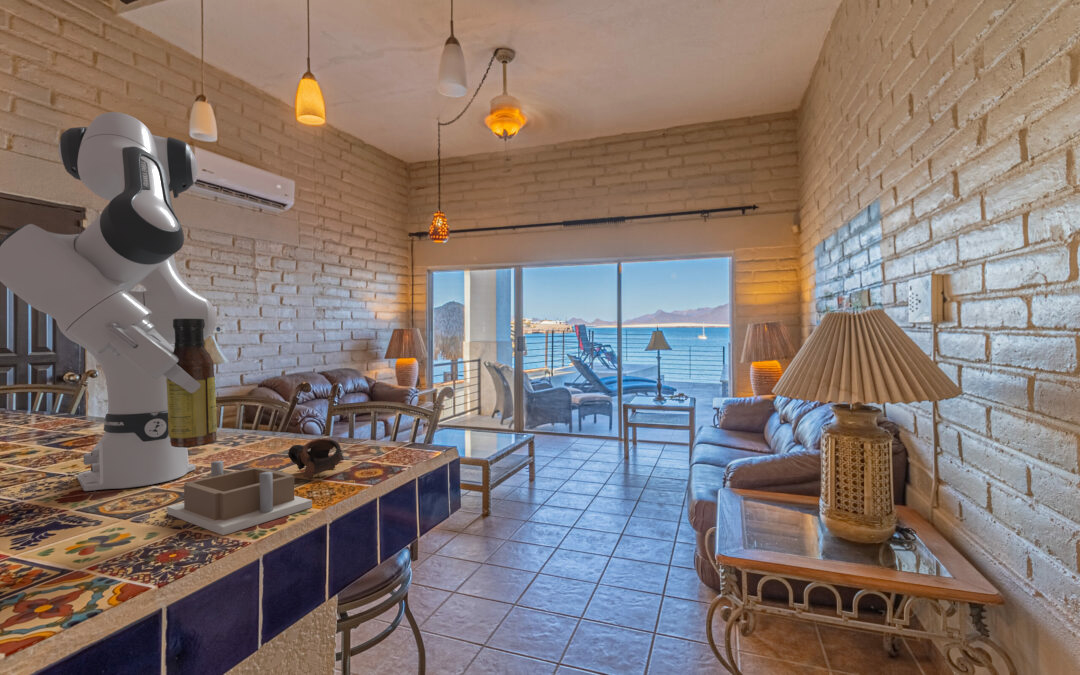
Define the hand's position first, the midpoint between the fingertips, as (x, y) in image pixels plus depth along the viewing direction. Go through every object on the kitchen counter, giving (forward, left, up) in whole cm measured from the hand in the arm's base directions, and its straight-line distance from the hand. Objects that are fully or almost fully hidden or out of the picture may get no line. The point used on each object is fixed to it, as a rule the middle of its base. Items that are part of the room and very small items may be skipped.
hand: (197, 387), depth 78 cm
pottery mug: (-10, +27, -21) cm, 36 cm away
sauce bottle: (0, -1, -9) cm, 9 cm away
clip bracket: (+1, +6, -21) cm, 22 cm away
